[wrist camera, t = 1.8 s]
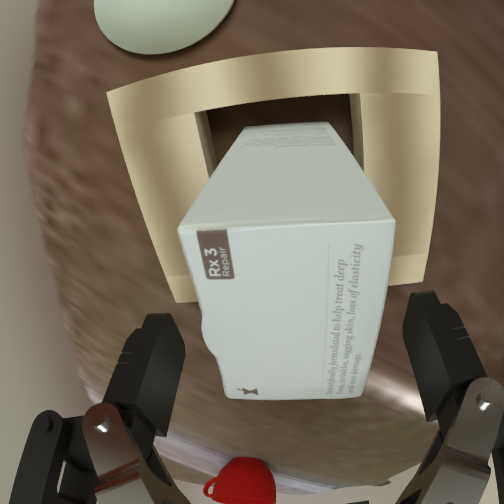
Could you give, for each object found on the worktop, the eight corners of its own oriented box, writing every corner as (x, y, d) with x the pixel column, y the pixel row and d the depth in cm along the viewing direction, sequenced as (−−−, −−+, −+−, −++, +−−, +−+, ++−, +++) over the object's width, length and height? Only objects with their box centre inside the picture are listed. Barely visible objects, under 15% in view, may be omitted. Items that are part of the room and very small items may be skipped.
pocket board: (417, 51, 15) (437, 51, 13) (411, 259, 25) (422, 281, 22) (126, 86, 19) (106, 92, 16) (184, 279, 28) (176, 302, 25)
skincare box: (330, 223, 24) (369, 402, 11) (251, 228, 24) (225, 408, 12) (327, 113, 19) (415, 223, 7) (236, 120, 20) (164, 238, 8)
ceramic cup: (190, 454, 57) (183, 494, 49) (259, 449, 51) (255, 496, 43) (224, 471, 63) (219, 506, 54) (288, 465, 57) (286, 505, 49)
